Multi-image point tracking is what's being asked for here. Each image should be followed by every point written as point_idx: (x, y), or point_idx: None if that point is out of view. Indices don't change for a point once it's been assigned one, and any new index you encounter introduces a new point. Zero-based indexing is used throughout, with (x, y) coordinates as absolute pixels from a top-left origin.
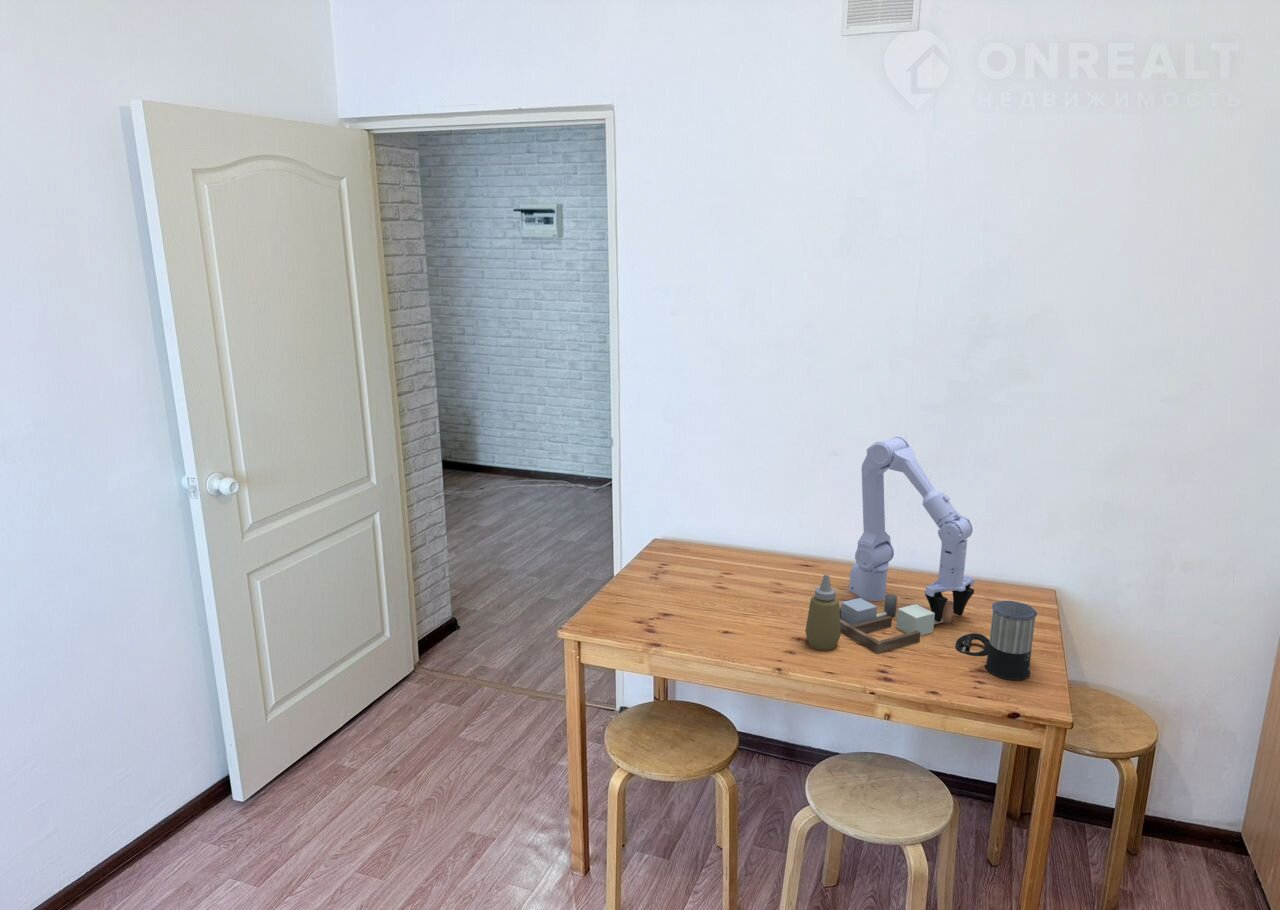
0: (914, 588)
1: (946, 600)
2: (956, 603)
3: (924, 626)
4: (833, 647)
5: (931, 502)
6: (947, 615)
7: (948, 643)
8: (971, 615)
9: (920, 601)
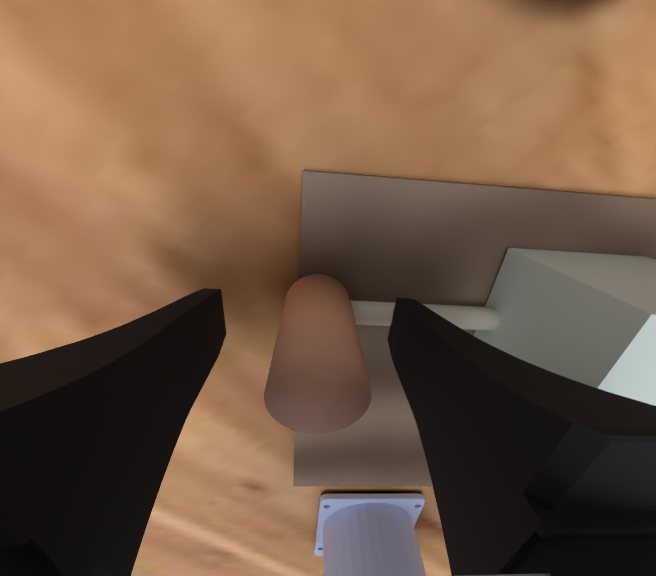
0: (171, 516)
1: (564, 409)
2: (189, 375)
3: (638, 273)
4: None
5: None
6: (344, 309)
7: (532, 114)
8: (92, 299)
9: (229, 462)
